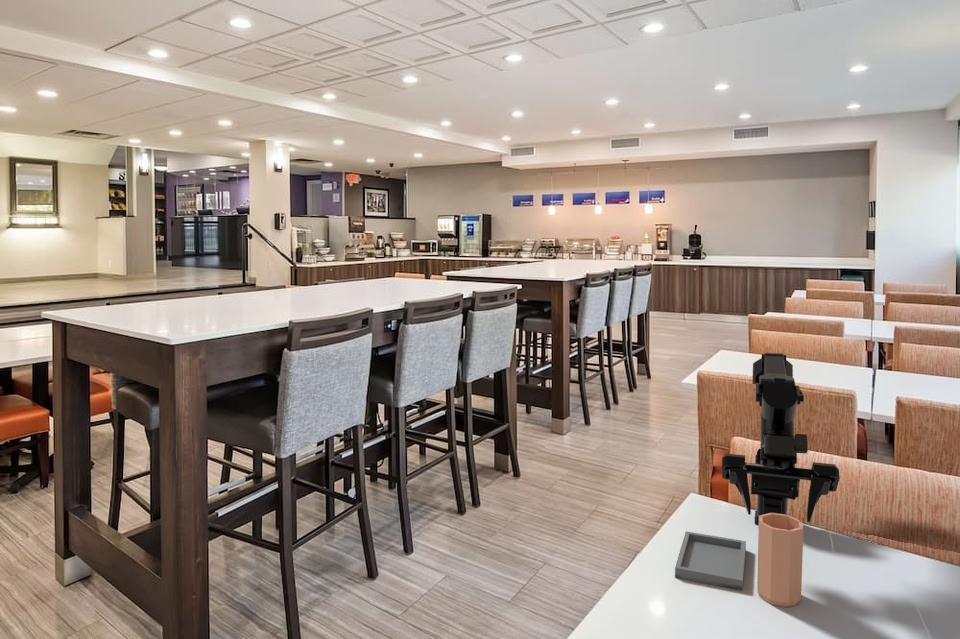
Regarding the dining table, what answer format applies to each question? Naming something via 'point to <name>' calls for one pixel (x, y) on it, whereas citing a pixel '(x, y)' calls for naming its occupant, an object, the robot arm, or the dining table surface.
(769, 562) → the cup
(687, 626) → the dining table surface
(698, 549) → the tray
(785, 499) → the robot arm
